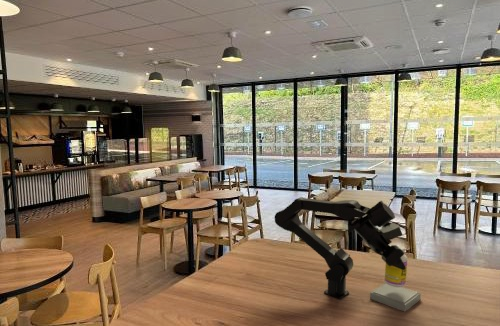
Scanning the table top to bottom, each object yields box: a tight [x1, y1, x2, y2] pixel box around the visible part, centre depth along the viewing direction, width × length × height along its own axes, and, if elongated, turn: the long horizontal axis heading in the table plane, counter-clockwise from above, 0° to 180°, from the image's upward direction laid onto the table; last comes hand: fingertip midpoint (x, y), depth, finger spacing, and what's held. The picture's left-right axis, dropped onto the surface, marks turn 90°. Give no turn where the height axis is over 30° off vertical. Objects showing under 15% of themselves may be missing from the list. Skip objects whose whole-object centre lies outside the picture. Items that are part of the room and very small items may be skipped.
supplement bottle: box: [384, 244, 408, 288], centre depth 121 cm, size 7×7×13 cm
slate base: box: [369, 282, 422, 312], centre depth 122 cm, size 12×12×2 cm
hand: (400, 264), depth 121 cm, fingers closed on supplement bottle, 7 cm apart
